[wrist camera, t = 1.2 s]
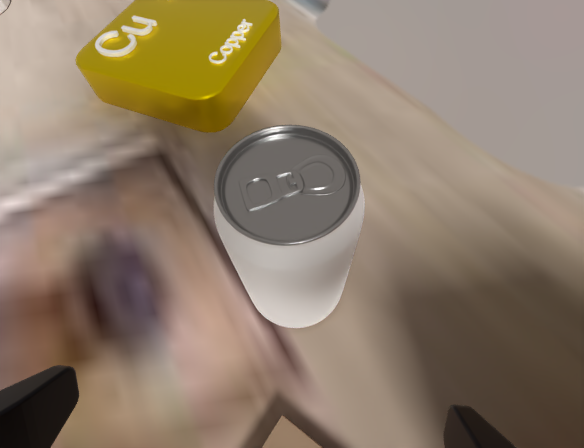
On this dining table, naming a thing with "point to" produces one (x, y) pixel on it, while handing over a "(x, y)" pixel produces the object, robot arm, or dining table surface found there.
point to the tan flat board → (289, 436)
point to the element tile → (184, 58)
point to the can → (290, 220)
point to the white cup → (4, 5)
